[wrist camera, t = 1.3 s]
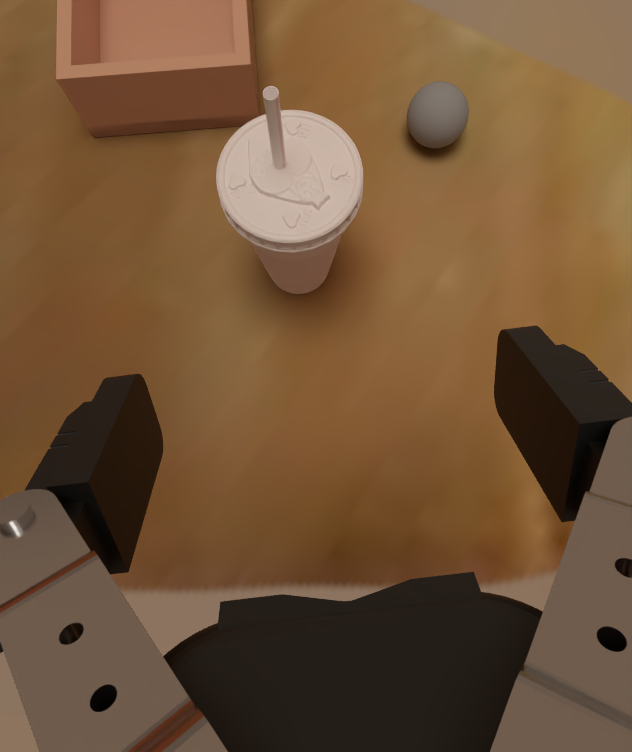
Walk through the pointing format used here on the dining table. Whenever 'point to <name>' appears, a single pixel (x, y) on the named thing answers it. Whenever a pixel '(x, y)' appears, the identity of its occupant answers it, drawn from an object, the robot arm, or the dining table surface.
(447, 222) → the dining table surface
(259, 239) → the smoothie
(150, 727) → the robot arm
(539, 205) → the dining table surface
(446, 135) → the ball
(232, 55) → the pink square tray
